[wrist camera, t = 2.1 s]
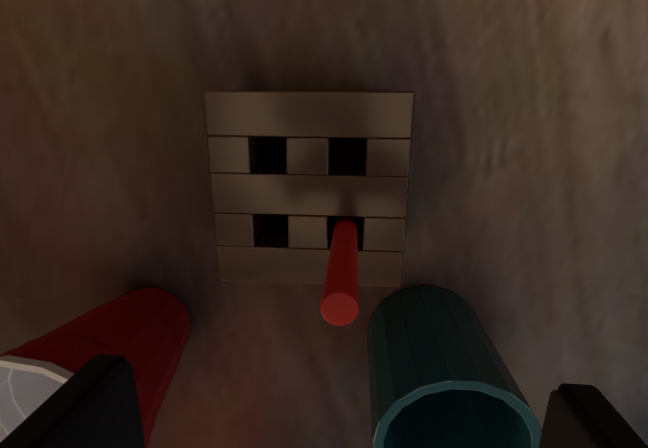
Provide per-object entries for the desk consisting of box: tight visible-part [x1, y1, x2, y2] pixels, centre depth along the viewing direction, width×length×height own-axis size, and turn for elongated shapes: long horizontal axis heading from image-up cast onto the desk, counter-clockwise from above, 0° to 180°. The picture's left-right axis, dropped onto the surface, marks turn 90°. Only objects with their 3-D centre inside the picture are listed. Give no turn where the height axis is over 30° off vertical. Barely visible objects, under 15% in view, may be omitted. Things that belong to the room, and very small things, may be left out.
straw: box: [320, 216, 359, 326], centre depth 19 cm, size 1×1×14 cm
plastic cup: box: [0, 287, 190, 448], centre depth 24 cm, size 11×11×12 cm
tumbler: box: [367, 286, 542, 448], centre depth 24 cm, size 8×8×10 cm
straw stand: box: [203, 91, 415, 288], centre depth 23 cm, size 10×10×6 cm
